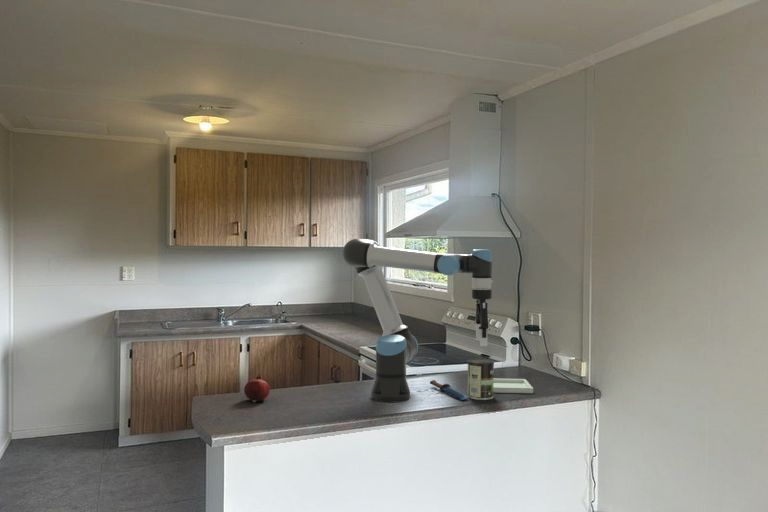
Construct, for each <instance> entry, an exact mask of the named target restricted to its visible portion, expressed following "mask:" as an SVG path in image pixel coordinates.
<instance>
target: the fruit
mask: <svg viewBox="0 0 768 512" xmlns="http://www.w3.org/2000/svg"><path fill="white" fill-rule="evenodd" d="M269 385H270V384H268V383H267V381H265V380H263V378H262V375H260V374H259V373H258V375H257V376H256V377H255V378H253V379H250V380H249V381H247V382H246V384H245V385H244V387H243V389H244V391H243V393H244V395H245V397H246V398H248V400H250V401H252V402H253V403H254V402H255V403H258V402H262V401H264V400H265V399H266V398H267V397H268V396H269V395H270V386H269Z"/></svg>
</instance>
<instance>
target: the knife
mask: <svg viewBox="0 0 768 512" xmlns="http://www.w3.org/2000/svg"><path fill="white" fill-rule="evenodd" d="M429 384H430V385H432V386H435V387H436V388H438V389H439V391H440V392H441V393H446V394H448V395H450V396H451V397H454V398H456V399H458V400H460V401H462V400H466V399H467V398H469V397H468V396H467V395H466V394H464V393H462V392H460V391H458V390H456V389H454V388H452V386H451V385H450V384H448V383H444V384H441V383H439V382H437V381H436V379H435V380H433V379H432V380H430V381H429Z"/></svg>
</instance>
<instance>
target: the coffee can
mask: <svg viewBox="0 0 768 512" xmlns="http://www.w3.org/2000/svg"><path fill="white" fill-rule="evenodd" d="M494 364H495V361H494V360H492V359H488V358H470V359H468V360H467V395H466V396H468V398H469V399H472V400H477V401H487V400H488V401H489V400H492V399H494V392H493V379H494V378H495V375H494V373H495V372H494V367H495V365H494Z"/></svg>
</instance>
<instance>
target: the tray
mask: <svg viewBox="0 0 768 512" xmlns="http://www.w3.org/2000/svg"><path fill="white" fill-rule="evenodd" d="M493 393H497V394H498V393H501V394H502V393H505V394H507V393H509V394H534V387H533V386H532V385H531V383H530V382H529V381H528V380H527V379H525V378H495V377H494V379H493Z"/></svg>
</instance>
